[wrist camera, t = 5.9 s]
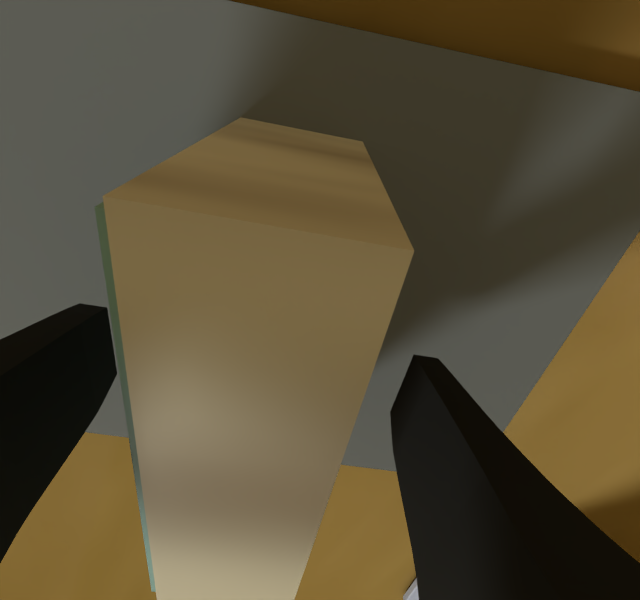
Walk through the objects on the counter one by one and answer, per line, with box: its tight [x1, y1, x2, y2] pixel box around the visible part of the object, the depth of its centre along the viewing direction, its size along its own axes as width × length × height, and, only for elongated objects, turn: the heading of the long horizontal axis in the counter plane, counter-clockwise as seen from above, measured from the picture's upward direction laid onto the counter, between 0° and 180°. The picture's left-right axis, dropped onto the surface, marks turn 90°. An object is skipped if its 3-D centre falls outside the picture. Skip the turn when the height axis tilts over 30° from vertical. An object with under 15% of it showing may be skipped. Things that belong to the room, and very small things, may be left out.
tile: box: [95, 118, 414, 600], centre depth 8 cm, size 9×3×6 cm, turn 170°
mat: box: [0, 0, 640, 471], centre depth 11 cm, size 18×14×1 cm
